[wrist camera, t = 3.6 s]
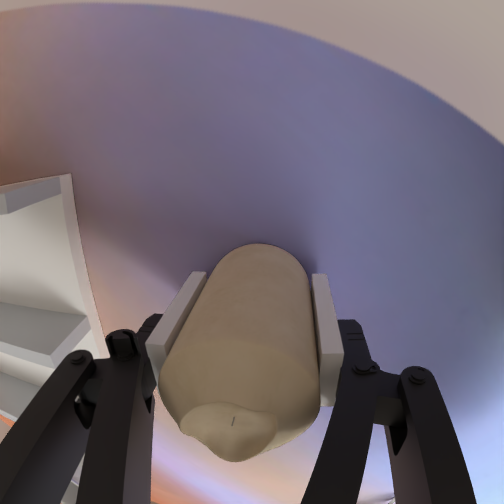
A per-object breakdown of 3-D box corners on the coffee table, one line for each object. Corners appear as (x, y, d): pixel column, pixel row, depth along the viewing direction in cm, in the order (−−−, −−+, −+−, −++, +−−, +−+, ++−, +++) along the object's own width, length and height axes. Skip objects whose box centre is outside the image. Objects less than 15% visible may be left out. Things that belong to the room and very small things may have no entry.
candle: (304, 333, 18) (307, 483, 9) (212, 325, 19) (158, 464, 10) (315, 245, 16) (340, 381, 7) (210, 238, 17) (126, 357, 8)
